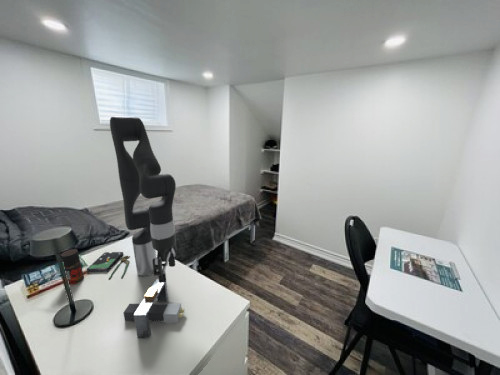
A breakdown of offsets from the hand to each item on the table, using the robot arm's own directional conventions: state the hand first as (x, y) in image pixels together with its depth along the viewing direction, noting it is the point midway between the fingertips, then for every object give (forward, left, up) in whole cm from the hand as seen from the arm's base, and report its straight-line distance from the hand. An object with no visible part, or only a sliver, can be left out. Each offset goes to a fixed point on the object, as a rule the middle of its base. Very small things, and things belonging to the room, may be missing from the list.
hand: (167, 273), depth 73 cm
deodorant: (-19, -53, -20) cm, 60 cm away
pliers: (-29, -37, -20) cm, 51 cm away
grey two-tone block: (0, -7, -20) cm, 21 cm away
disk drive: (-32, -48, -20) cm, 61 cm away
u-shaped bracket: (0, -7, -20) cm, 21 cm away
